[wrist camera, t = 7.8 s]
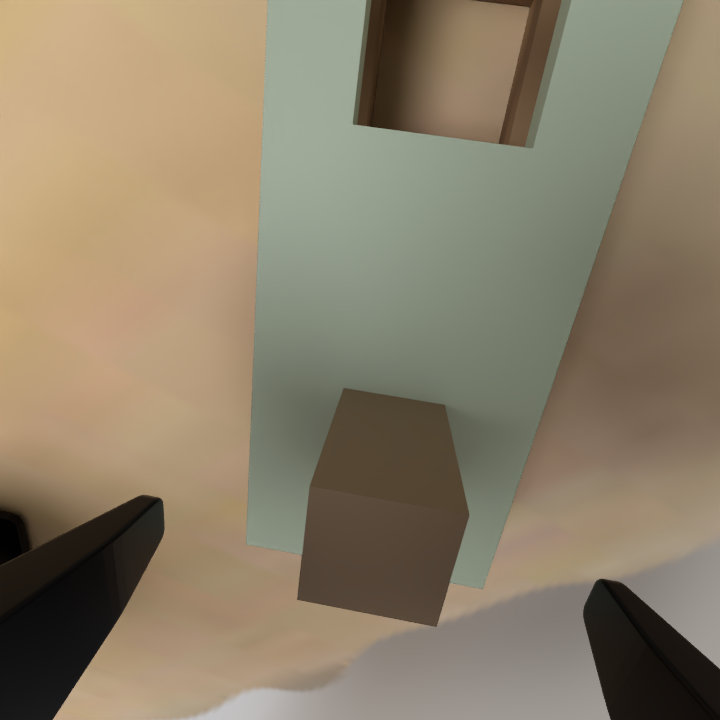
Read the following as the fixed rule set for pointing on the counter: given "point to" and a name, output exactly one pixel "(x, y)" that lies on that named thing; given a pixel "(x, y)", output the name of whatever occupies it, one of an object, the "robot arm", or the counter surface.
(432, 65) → the counter surface
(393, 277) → the lid
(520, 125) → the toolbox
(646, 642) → the robot arm
